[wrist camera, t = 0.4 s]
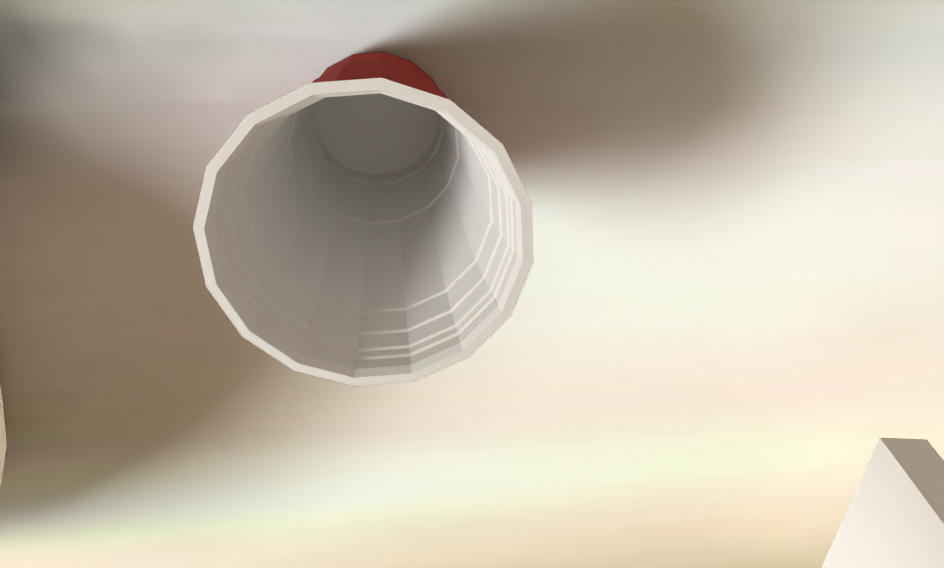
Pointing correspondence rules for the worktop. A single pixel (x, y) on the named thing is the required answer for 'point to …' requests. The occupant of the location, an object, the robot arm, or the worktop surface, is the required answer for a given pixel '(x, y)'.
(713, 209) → the worktop surface
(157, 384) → the worktop surface
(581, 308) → the worktop surface
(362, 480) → the worktop surface
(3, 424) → the white pet bowl
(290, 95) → the plastic cup
